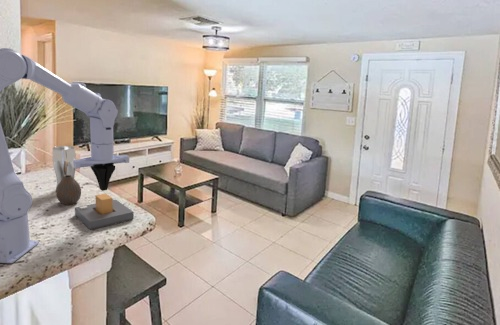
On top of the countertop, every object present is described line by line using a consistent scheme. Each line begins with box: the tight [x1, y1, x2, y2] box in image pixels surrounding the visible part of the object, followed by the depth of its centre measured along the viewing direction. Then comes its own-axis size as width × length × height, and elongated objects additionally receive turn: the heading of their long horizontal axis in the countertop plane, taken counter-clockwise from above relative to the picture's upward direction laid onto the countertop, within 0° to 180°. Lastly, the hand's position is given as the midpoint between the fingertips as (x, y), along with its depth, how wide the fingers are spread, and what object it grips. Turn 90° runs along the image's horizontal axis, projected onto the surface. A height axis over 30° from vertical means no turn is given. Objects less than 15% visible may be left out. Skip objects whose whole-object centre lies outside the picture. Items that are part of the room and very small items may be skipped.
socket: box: [74, 199, 135, 231], centre depth 95 cm, size 12×12×3 cm
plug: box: [95, 193, 113, 215], centre depth 94 cm, size 4×3×6 cm, turn 45°
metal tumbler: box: [52, 145, 77, 189], centre depth 113 cm, size 7×7×15 cm
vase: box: [55, 175, 82, 206], centre depth 103 cm, size 7×7×9 cm
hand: (103, 189), depth 93 cm, fingers closed
